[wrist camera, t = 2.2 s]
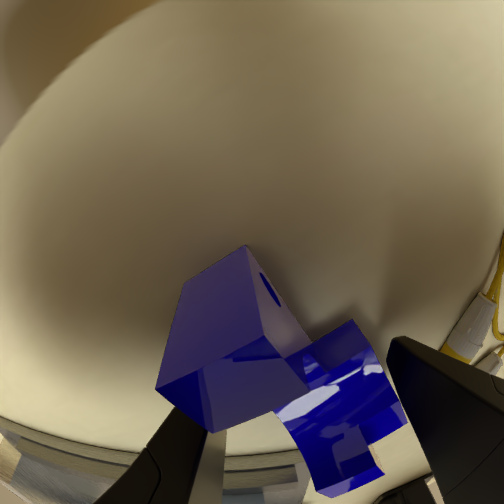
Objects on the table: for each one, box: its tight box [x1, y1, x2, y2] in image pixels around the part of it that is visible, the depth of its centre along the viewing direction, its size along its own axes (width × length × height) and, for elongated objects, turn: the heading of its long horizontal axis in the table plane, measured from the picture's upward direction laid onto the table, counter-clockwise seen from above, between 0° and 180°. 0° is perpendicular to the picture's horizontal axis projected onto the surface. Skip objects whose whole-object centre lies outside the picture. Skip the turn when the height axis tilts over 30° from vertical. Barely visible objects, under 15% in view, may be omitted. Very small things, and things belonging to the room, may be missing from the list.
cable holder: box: [155, 245, 408, 498], centre depth 7 cm, size 8×4×4 cm, turn 32°
